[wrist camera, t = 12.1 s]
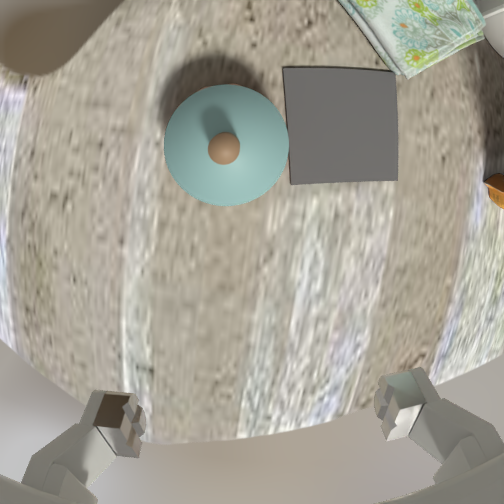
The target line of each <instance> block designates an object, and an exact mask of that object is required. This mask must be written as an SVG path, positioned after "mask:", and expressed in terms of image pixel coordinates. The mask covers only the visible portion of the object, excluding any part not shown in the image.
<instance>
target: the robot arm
mask: <svg viewBox="0 0 504 504" xmlns="http://www.w3.org/2000/svg"><path fill="white" fill-rule="evenodd" d="M473 2H474V3H475V5H476V6H477V8H478V9H479V11H480V13H481V14H482V16H483V18H484V20H485V23H486V26H485V27H483V28H482V31H483V33H484V35H485V37H486V38H487V40H488V41H489V43H490V44H491V46H492V47H493V48H494V49H495V50H496V51H497V52H498V53H499V54H500V55H501V56H502V57H503V58H504V0H473ZM378 385H379V387H380V388H379V389H378V390H377V391H376V392H375V396H374V408H375V412H376V415H377V417H378V418H380V419H381V420H383V422H382V425H381V428H382V431H383V433H384V436H385V439H386V441H389V440H393V439H397V438H402V437H406V436H408V437H409V438H410V439H411V440H413V441H414V442H415V443H416V444H417V445H419V446H420V447H421V448H423V449H424V450H425V451H426V452H427V453H429V454H430V455H431V456H432V457H434V458H435V459H436V460H437V461H439V462H440V463H441V464H442V466H441V467H440V468H439V469H438V471H437V472H436V473H435V475H434V476H433V479H434V481H435V485H432V486H430V487H427V488H424V489H421V490H419V491H416V492H412V493H409V494H406V495H404V496H400V497H397V498H393V499H390V500H386V501H383V502H379V503H375V504H504V443H503V442H502V440H501V438H500V436H499V434H498V433H497V431H496V429H495V427H494V426H493V425H492V424H490V423H489V422H487V421H485V420H483V419H481V418H479V417H477V416H476V415H474V414H472V413H470V412H468V411H467V410H465V409H463V408H461V407H459V406H458V405H456V404H454V403H452V402H450V401H449V400H447V399H445V398H443V399H441V398H440V397H439V395H438V393H437V391H436V390H435V388H434V386H433V385H432V383H431V381H430V379H429V378H428V376H427V374H426V373H425V371H424V369H423V368H421V367H419V368H415V369H410V370H405V371H401V372H396V373H392V374H387V375H382V376H381V377H380V378H379V382H378ZM138 401H139V400H138V398H137V396H136V394H134V393H124V392H114V391H103V390H94V391H93V392H92V394H91V396H90V398H89V401H88V403H87V406H86V408H85V410H84V413H83V415H82V418H81V420H80V423H79V424H74V425H73V426H72V427H70V428H69V429H68V430H66V431H65V432H64V433H62V434H61V435H60V436H58V437H57V438H56V439H54V440H53V441H52V442H50V443H49V444H47V445H46V446H45V447H43V448H42V449H41V450H39V451H38V452H37V453H35V454H34V455H32V457H31V460H30V462H29V464H28V467H27V469H26V472H25V474H24V477H23V479H22V482H21V483H19V482H17V481H15V480H12V479H10V478H8V477H5V476H3V475H1V474H0V504H97V502H98V499H97V498H96V496H94V494H92V493H91V492H90V491H89V490H88V489H87V488H88V487H89V486H90V485H91V484H92V483H93V482H94V481H95V480H96V479H97V478H98V477H99V476H100V474H101V473H102V472H103V471H104V470H105V469H106V468H107V467H108V466H109V465H110V464H111V463H112V462H113V461H114V460H115V458H116V457H117V456H123V457H134V458H139V454H140V450H141V446H142V442H141V440H140V438H139V437H140V436H141V435H143V434H144V433H145V428H146V416H145V412H144V410H143V408H142V407H140V406H139V405H137V404H138Z"/></svg>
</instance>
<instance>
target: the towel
mask: <svg viewBox="0 0 504 504" xmlns="http://www.w3.org/2000/svg"><path fill="white" fill-rule="evenodd" d="M338 1H339V2H340V3H341V5H342V6H343V7H344V8H345V9H346V11H347V12H348V13H349V15H350V16H351V17H352V18H353V19H354V21H355V22H356V23H357V25H358V26H359V27H360V29H361V30H362V31H363V33H364V34H365V35H366V37H367V38H368V40H369V41H370V42H371V44H372V45H373V47H374V49H375V50H376V52H377V53H378V54H379V55H380V57H381V58H382V60H383V61H384V62H385V64H386V65H387V66H388V68H389V69H390V70H392V71H393V73H394V74H395V75H399V74H401V75H405V77H406V79H407V80H408V79H409V78H410V77H413V76H414V75H416V74H418V73H420V72H421V71H423V70H424V69H426V68H429V67H430V66H432V65H434V64H436V63H438V62H440V61H442V60H443V59H445V58H447V57H449V56H451V55H452V54H454V53H456V52H457V51H459V50H461V49H463V48H465V47H467V46H469V45H471V44H474V43H476V42H478V41H481V40H484V39H485V37H484V33H483V31H482V28H483V27H485V26H486V23H485V20H484V18H483V16H482V14H481V13H480V11H479V9H478V8H477V6H476V5H475V3H474V2H473V0H338Z"/></svg>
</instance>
